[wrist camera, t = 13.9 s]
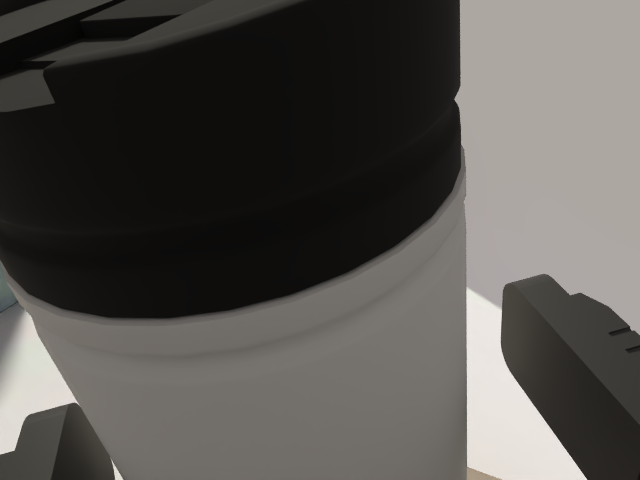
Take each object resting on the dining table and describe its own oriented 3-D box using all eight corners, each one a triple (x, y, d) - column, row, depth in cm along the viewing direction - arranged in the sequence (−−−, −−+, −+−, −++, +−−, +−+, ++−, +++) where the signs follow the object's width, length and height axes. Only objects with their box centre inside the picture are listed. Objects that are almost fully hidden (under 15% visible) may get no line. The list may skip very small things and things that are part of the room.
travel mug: (492, 588, 18) (529, -168, 7) (429, 862, 13) (232, -144, 2) (323, 516, 21) (159, -98, 10) (222, 720, 16) (-311, -21, 5)
